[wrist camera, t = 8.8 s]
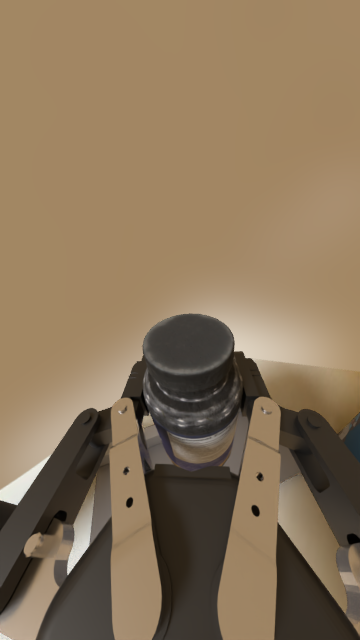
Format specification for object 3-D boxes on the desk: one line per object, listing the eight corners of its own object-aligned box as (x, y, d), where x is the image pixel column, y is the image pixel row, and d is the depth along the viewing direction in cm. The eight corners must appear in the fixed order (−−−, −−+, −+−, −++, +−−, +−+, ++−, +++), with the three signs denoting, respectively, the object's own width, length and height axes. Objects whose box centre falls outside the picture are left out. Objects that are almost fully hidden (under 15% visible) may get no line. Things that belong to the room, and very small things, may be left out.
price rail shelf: (257, 394, 28) (260, 384, 26) (312, 466, 20) (322, 458, 18) (100, 453, 23) (92, 445, 21) (88, 580, 15) (73, 582, 13)
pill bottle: (166, 400, 17) (142, 310, 11) (224, 397, 17) (232, 303, 11) (159, 480, 12) (106, 394, 6) (243, 479, 12) (277, 385, 6)
